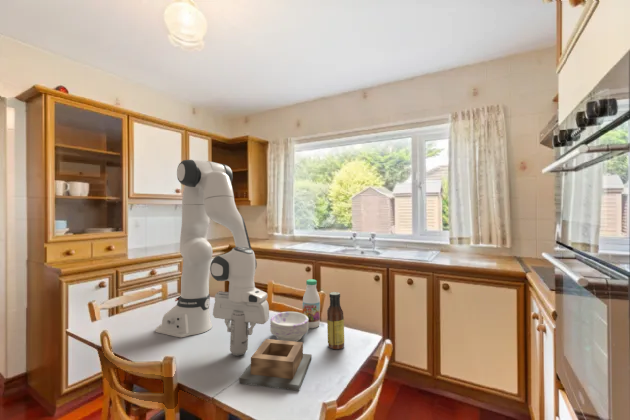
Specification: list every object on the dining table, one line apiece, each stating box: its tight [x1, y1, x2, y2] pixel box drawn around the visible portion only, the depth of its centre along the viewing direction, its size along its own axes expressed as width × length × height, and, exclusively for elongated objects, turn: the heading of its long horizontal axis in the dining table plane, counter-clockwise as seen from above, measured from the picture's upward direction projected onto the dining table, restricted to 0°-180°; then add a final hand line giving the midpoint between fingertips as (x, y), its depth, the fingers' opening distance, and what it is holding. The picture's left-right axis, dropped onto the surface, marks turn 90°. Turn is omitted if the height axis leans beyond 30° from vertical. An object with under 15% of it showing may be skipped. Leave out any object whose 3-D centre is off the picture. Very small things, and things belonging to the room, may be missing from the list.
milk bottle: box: [301, 278, 321, 329], centre depth 128 cm, size 8×8×20 cm
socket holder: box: [238, 338, 313, 392], centre depth 91 cm, size 18×18×6 cm
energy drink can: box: [229, 310, 250, 356], centre depth 101 cm, size 6×6×15 cm
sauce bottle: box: [326, 291, 345, 350], centre depth 108 cm, size 6×6×20 cm
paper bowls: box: [269, 311, 309, 342], centre depth 115 cm, size 15×15×8 cm
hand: (239, 333), depth 101 cm, fingers closed on energy drink can, 6 cm apart
